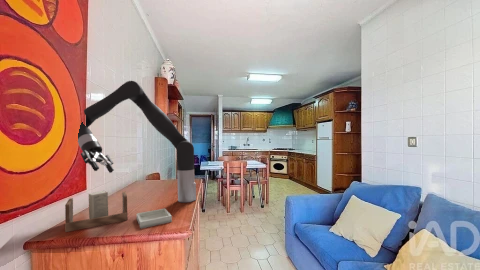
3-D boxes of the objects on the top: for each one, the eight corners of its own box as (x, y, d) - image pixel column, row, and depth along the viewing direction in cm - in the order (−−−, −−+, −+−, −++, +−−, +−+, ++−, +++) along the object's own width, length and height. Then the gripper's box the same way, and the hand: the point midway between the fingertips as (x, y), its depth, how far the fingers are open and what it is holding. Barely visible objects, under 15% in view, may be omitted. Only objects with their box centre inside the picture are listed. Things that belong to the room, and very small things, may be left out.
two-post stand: (125, 212, 104) (125, 191, 104) (127, 220, 94) (127, 196, 94) (69, 222, 93) (69, 198, 93) (65, 232, 83) (64, 205, 83)
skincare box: (105, 217, 97) (104, 190, 97) (108, 219, 94) (108, 191, 95) (88, 222, 92) (88, 193, 93) (92, 224, 90) (91, 195, 90)
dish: (165, 213, 101) (165, 208, 101) (171, 221, 90) (171, 215, 90) (136, 219, 94) (136, 213, 94) (140, 228, 84) (140, 222, 84)
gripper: (82, 136, 98) (98, 163, 93) (107, 143, 112) (122, 166, 106) (70, 147, 98) (85, 175, 93) (96, 153, 111) (110, 177, 106)
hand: (104, 170), depth 100 cm, fingers open, 8 cm apart
